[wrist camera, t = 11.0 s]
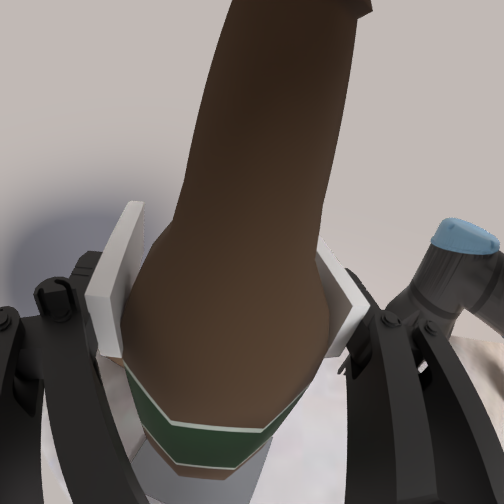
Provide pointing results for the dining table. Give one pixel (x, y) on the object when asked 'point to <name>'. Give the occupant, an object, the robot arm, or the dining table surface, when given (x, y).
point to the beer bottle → (243, 242)
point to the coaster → (195, 480)
